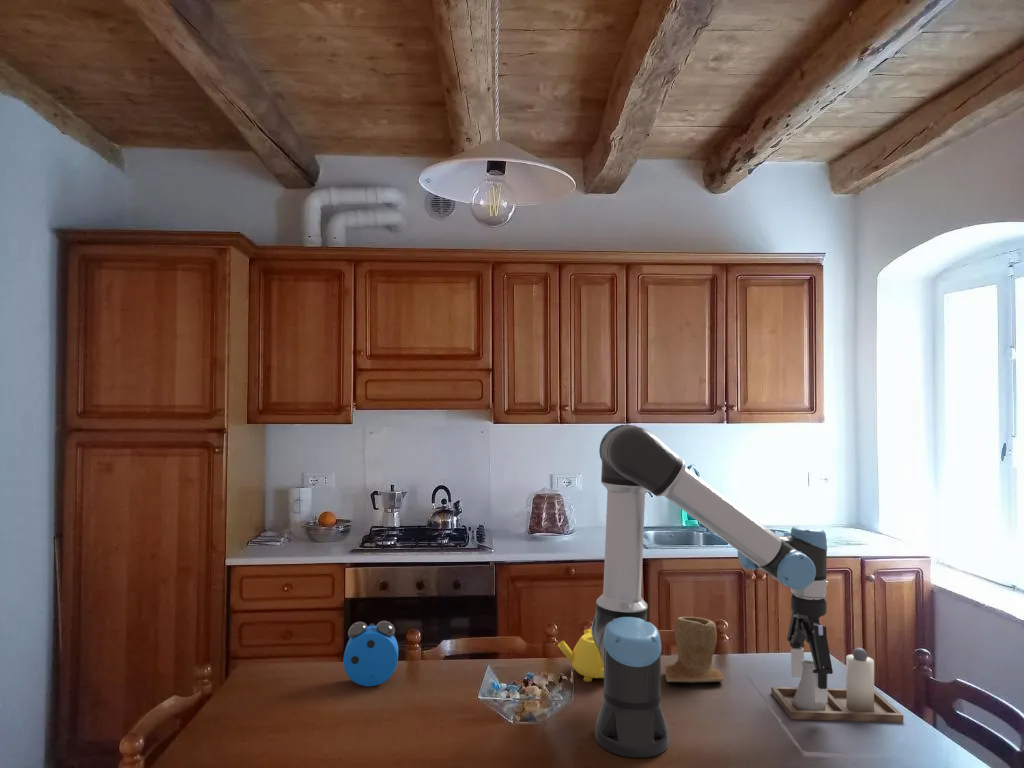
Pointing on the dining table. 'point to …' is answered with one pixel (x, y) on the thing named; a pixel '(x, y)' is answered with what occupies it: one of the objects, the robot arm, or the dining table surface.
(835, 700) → the tray
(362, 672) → the alarm clock
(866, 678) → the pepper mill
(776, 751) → the dining table surface
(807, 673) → the flask
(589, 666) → the teapot
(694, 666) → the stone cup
